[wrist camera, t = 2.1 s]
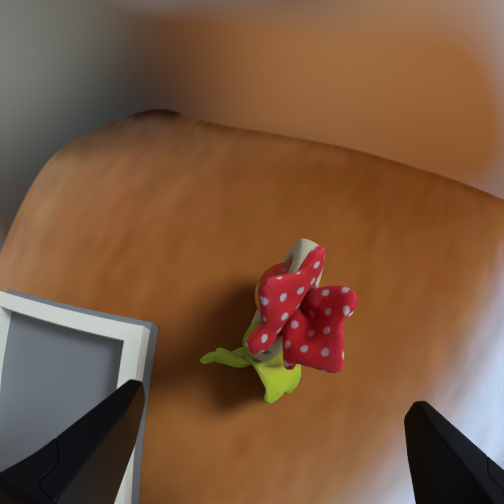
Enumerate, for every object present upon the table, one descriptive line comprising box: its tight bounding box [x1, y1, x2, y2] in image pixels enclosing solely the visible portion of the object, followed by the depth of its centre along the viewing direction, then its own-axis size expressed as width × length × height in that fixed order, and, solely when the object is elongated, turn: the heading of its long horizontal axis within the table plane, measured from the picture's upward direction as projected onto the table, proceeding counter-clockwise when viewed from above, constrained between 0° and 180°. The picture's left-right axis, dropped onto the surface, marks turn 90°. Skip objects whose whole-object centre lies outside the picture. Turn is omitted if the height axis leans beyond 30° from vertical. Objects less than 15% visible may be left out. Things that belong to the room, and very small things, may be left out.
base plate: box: [0, 289, 159, 504], centre depth 14 cm, size 22×12×4 cm, turn 174°
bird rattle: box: [200, 239, 358, 404], centre depth 16 cm, size 6×11×9 cm
